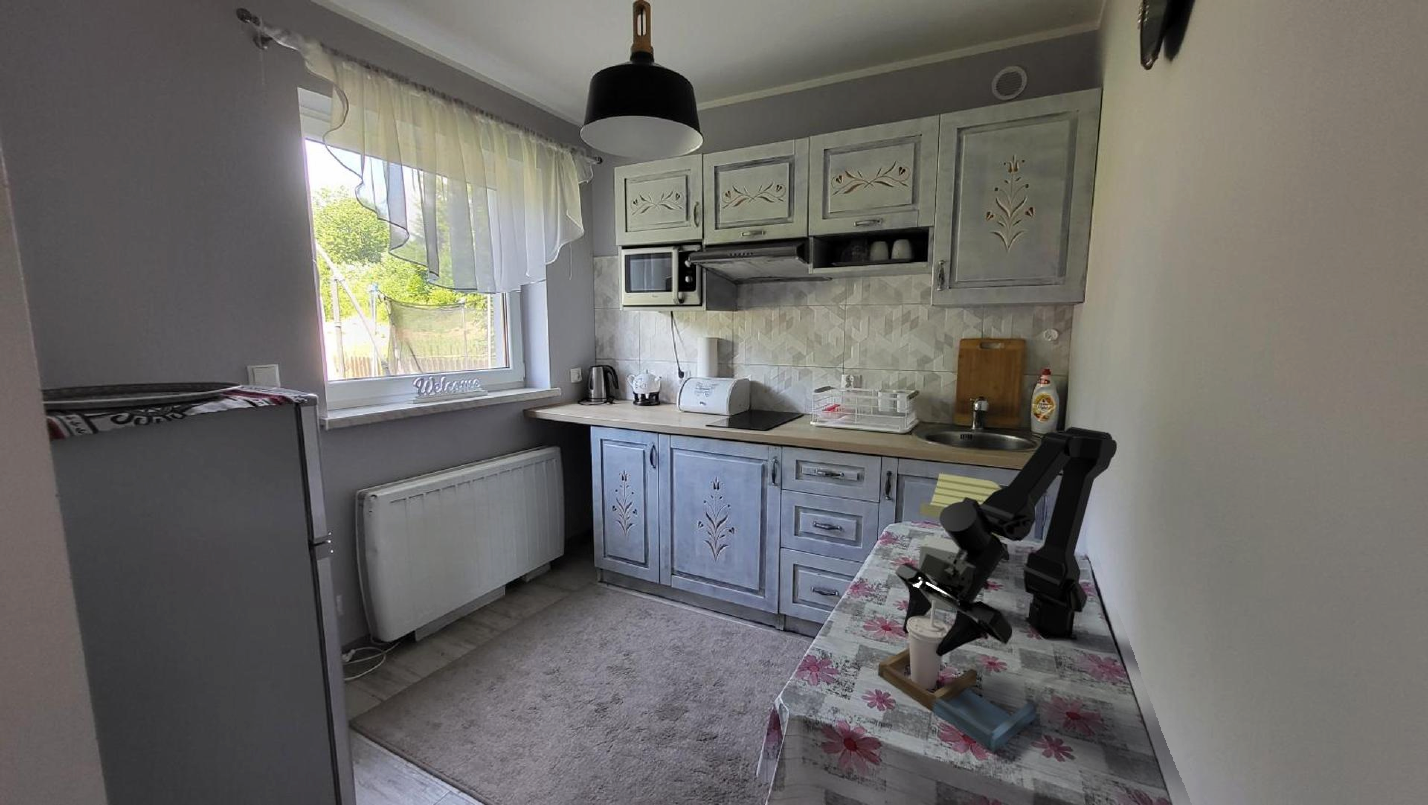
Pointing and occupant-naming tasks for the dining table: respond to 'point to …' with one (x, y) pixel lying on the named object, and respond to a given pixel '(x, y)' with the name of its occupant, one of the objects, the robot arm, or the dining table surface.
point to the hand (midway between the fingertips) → (920, 643)
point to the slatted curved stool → (957, 493)
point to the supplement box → (940, 550)
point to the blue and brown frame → (961, 705)
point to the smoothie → (925, 648)
